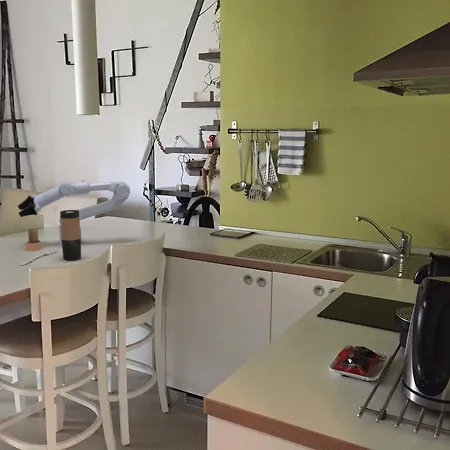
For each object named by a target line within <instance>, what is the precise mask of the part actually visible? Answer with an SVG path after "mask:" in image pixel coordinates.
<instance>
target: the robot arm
mask: <svg viewBox="0 0 450 450" xmlns="http://www.w3.org/2000/svg"><path fill="white" fill-rule="evenodd" d="M92 191H93V192H95V191H109V192H111V193H113V194H112V198H111V199H109V200H105V201H102V202H100V203H96V204H93V205H90V206H86V207H83V208H80V209H77V210H78V211H79V219H80V221H83V220H85V219H88V218H92V217H95V216H98V215H101V214H105V213H108V212H111V211H115V210H117V209H119V208H121V206H122V205H123V204H124V203H125V202H126V200H128V198H129V197H130V194H131V188H130V186H129V185H128V184H127V183H126V182H123V181H120V182H119V181H107V182H97V183H90V182H88V181H86V180H84V179H83V180H82V179H81V180H80V181H74V182H73V181H70V182H67V181H66V182H61V184H60V185H57V186H55V187H53V188H51V189H48V190H46V191H44V192H42V193H39V194H38V195H37V194H32V196H31V195H30V194H29V195H28V196H27V197H26V198H25V199H24V200H23V201H22V202H21V203H19V204H18V205H17V208H18V209H19V212H18V215H19V216H20V218H23V217H27V216H28V217H29V216H37V215H38V213H39V212H40V211H41V210H42V209H43V208H45V207H46V206H49V205H51V204H53V203H55V202H57V201H59V200H61V199H62V198H64V197H70V196H71V195H74V196H75V195H88V194H89V193H90V192H92ZM59 224H60V225H59V226H58V229H59V231H58V232H59V245H58V246H57V248H58V247H60V248H62V239H61V220H60V218H59ZM80 234H81V235H82V228H81V227H80ZM82 239H83V238H81V244H82V243H83V241H82Z"/></svg>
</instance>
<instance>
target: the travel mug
mask: <svg viewBox="0 0 450 450" xmlns="http://www.w3.org/2000/svg"><path fill="white" fill-rule="evenodd" d="M78 210H79V209H67V210H61V211H59V219H60V220H61V224H60V225H61V239H62V247H61V249H62V258H63V260H64V261H65V262H75V261H79V260H82V243H81V239H82V233H81V234H80V228H81V222H80V221H81V220H80V219H79V211H78Z"/></svg>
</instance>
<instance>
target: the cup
mask: <svg viewBox="0 0 450 450" xmlns="http://www.w3.org/2000/svg"><path fill="white" fill-rule="evenodd" d="M38 241H39V242H38V243H29V240H27V241H26V242H25V246H26V248H25V249H26V251H28V252H37V251H41V250H42V249H43V245H42V242H43V241H42V240H39V239H38Z"/></svg>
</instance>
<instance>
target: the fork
mask: <svg viewBox="0 0 450 450" xmlns="http://www.w3.org/2000/svg"><path fill="white" fill-rule="evenodd" d="M58 249H59V247H58V246H57V247H56V246H53V247H52V248H51V249H50V250H48V251H46V252H45V253H41V254H38V255H37V256H34V257H32V258H30V259H28V260H26V261H25V262H22V263H20V264H19V266H25V265H27V264H29V263H30V262H33V261H34V260H36V259H38V258H39V257H41V256H43V255H53V254H54V253H55V252H56V251H57V250H58Z"/></svg>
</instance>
